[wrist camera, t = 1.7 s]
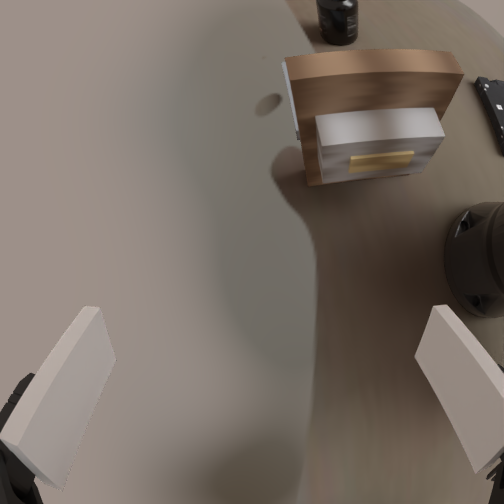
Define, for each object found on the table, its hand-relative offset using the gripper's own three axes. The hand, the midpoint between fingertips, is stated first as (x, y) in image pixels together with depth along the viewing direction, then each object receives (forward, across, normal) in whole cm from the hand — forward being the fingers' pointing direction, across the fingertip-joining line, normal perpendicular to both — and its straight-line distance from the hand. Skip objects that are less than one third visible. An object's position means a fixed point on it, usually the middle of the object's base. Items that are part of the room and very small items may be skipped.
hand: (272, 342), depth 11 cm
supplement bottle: (+45, +15, +26) cm, 54 cm away
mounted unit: (+29, +14, +1) cm, 32 cm away
